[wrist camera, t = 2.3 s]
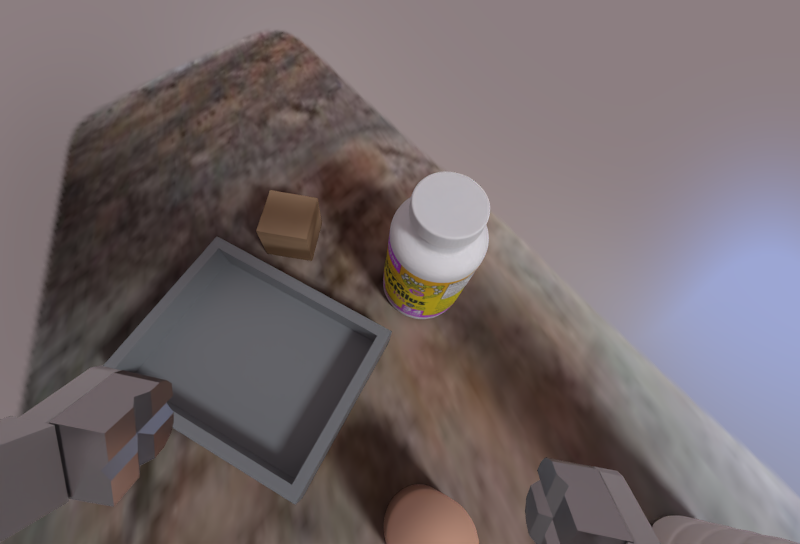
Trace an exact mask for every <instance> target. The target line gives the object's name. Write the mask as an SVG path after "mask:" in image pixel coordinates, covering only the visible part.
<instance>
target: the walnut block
mask: <svg viewBox="0 0 800 544" xmlns="http://www.w3.org/2000/svg"><path fill="white" fill-rule="evenodd" d="M321 225H322V220H321V214H320V209H319V203H318V198H314V197H308V196H302V195H296V194H290V193H284V192H278V191H272V190H270V192H269V195H268V198H267V201H266V203H265V206H264V209H263V212H262V215H261V218H260V221H259V224H258V227H257V230H256V232H257V234H258V236H259V238H260V240H261V242H262V244H263V246H264V248H265V250H266V252H267V254H273V255H279V256H285V257H291V258H297V259H304V260H310V261H312V259H313V256H314V252H315V248H316V244H317V240H318V236H319V233H320V229H321Z"/></svg>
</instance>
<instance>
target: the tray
mask: <svg viewBox="0 0 800 544" xmlns="http://www.w3.org/2000/svg"><path fill="white" fill-rule="evenodd" d="M391 333H392V331H390V330H388V329H386V328H385V327H383V326H381V325H379V324H377V323H375V322H373V321H372V320H370V319H368V318H366V317H364V316H362V315H361V314H359V313H357V312H355V311H353V310H351V309H350V308H348V307H346V306H344V305H342V304H340V303H339V302H337V301H335V300H333V299H331V298H329V297H328V296H326V295H324V294H322V293H320V292H318V291H317V290H315V289H313V288H311V287H309V286H307V285H306V284H304V283H302V282H300V281H298V280H296V279H295V278H293V277H291V276H289V275H287V274H285V273H284V272H282V271H280V270H278V269H276V268H274V267H273V266H271V265H269V264H267V263H265V262H263V261H262V260H260V259H258V258H256V257H254V256H252V255H251V254H249V253H247V252H245V251H243V250H241V249H239V248H238V247H236V246H234V245H232V244H230V243H228V242H227V241H225V240H223V239H221V238H219V237H216V238H215V239H214V240H213V241H212V242H211V243H210V245H209V246H208V247H207V248H206V249H205V250H204V251H203V253H202V254H201V255H200V256H199V257H198V258H197V259H196V260H195V262H194V263H193V264H192V265H191V266H190V267H189V268H188V270H187V271H186V272H185V273H184V274H183V275H182V276H181V278H180V279H179V280H178V281H177V282H176V283H175V284H174V286H173V287H172V288H171V289H170V290H169V291H168V292H167V293H166V295H165V296H164V297H163V298H162V299H161V300H160V301H159V303H158V304H157V305H156V306H155V307H154V308H153V309H152V311H151V312H150V313H149V314H148V315H147V316H146V317H145V319H144V320H143V321H142V322H141V323H140V324H139V325H138V326H137V328H136V329H135V330H134V331H133V332H132V333H131V334H130V336H129V337H128V338H127V339H126V340H125V341H124V342H123V344H122V345H121V346H120V347H119V348H118V349H117V350H116V352H115V353H114V354H113V355H112V356H111V357H110V358H109V359H108V361H107V362H106V363H105V364H104V365H103V366H105V367H109V368H113V369H117V370H121V371H122V370H124V371H129V372H133V373H137V374H142V375H146V376H150V377H155V378H159V379H163V380H167V381H169V382H170V383H172V392H173V396H172V397H171V398H170V399H169V401H168V402H167V404H168V406H169V407H170V408H171V410H172V411H173V412H174V423H173V428H174V429H176V430H177V431H179V432H180V433H182V434H184V435H185V436H187V437H188V438H190V439H191V440H193V441H195V442H196V443H198V444H199V445H201V446H203V447H204V448H206V449H207V450H209V451H211V452H212V453H214V454H215V455H217V456H219V457H220V458H222V459H223V460H225V461H226V462H228V463H230V464H231V465H233V466H234V467H236V468H238V469H239V470H241V471H242V472H244V473H246V474H247V475H249V476H250V477H252V478H254V479H255V480H257V481H258V482H260V483H262V484H263V485H265V486H266V487H268V488H269V489H271V490H273V491H274V492H276V493H277V494H279V495H281V496H282V497H284V498H285V499H287V500H289V501H290V502H292V503H293V504H297V503H298V502H299V501H300V500H301V499H302V498H303V496H304V494H305V492H306V491H307V489H308V487H309V485H310V483H311V481H312V480H313V478H314V476H315V474H316V472H317V471H318V469H319V467H320V465H321V463H322V462H323V460H324V458H325V456H326V454H327V453H328V451H329V449H330V447H331V445H332V444H333V442H334V440H335V438H336V436H337V435H338V433H339V431H340V429H341V427H342V426H343V424H344V422H345V420H346V418H347V416H348V415H349V413H350V411H351V409H352V407H353V406H354V404H355V402H356V400H357V398H358V397H359V395H360V393H361V391H362V389H363V388H364V386H365V384H366V382H367V380H368V379H369V377H370V375H371V373H372V371H373V370H374V368H375V366H376V364H377V362H378V361H379V359H380V357H381V355H382V353H383V351H384V350H385V348H386V346H387V344H388V342H389V340H390V336H391Z"/></svg>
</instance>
